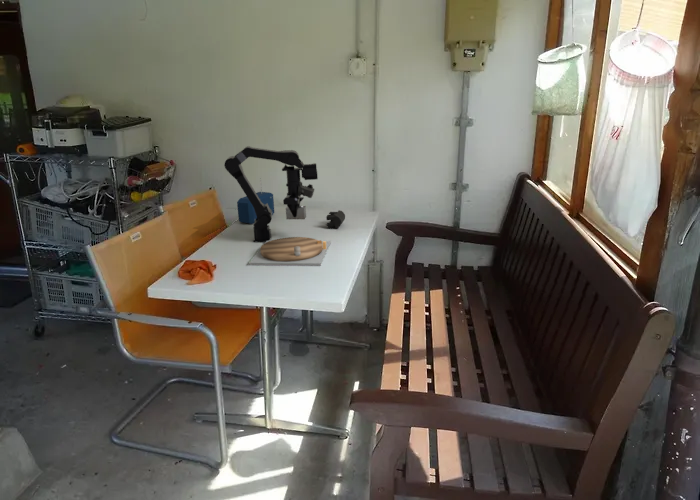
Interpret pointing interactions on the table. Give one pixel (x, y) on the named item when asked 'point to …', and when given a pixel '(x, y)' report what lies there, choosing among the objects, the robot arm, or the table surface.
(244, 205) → the radio
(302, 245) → the round wooden board
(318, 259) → the base plate
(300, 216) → the steel link block
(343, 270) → the table surface
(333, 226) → the end cap
